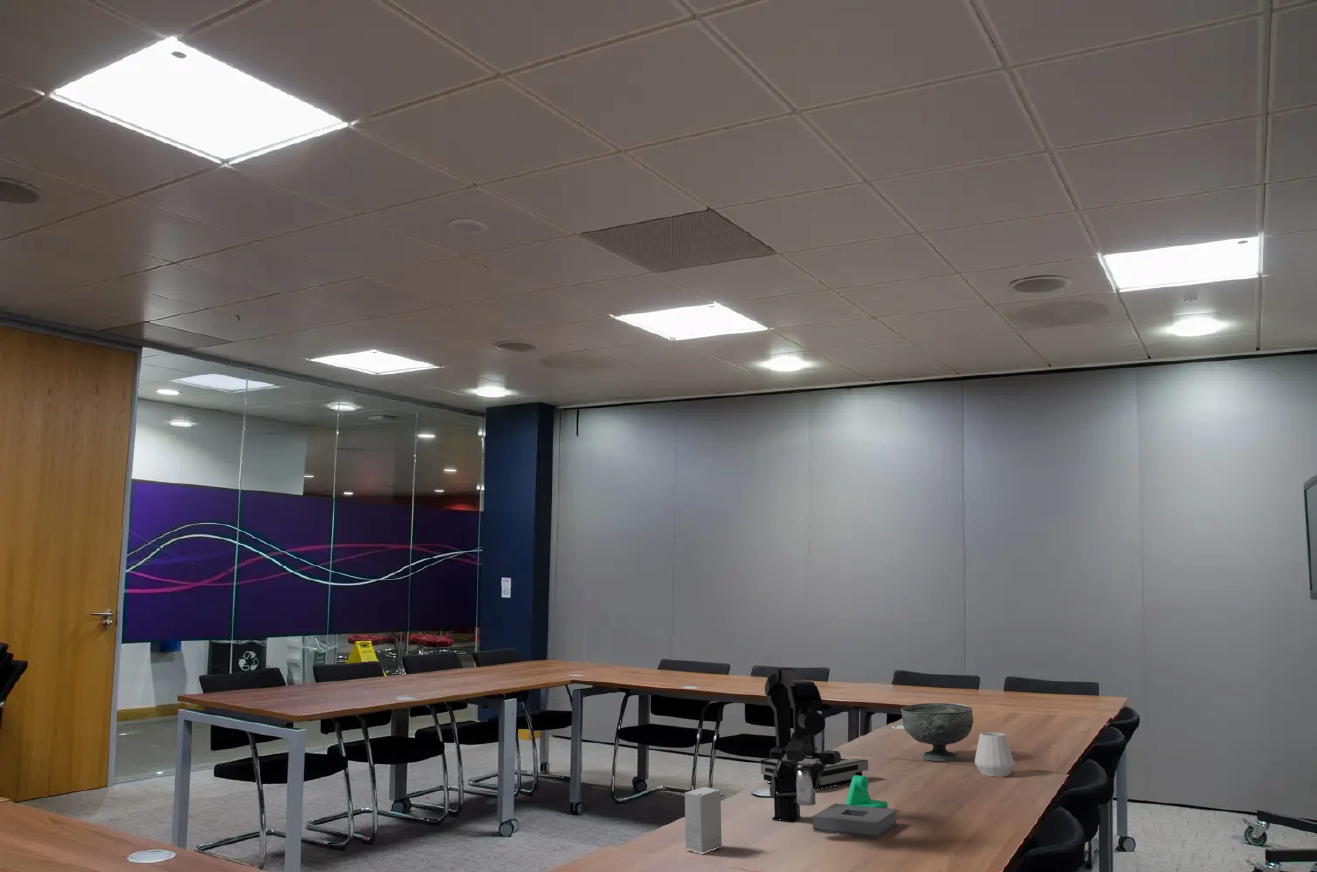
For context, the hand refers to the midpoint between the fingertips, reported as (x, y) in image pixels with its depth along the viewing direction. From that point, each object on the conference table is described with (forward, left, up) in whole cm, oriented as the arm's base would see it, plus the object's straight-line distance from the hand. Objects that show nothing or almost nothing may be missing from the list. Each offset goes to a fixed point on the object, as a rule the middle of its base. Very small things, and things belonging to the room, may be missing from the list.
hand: (805, 787), depth 266 cm
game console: (-25, +71, -13) cm, 77 cm away
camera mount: (+5, +36, -13) cm, 39 cm away
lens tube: (0, 0, -4) cm, 4 cm away
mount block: (+8, +16, -13) cm, 22 cm away
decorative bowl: (+2, +134, -13) cm, 134 cm away
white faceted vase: (+27, +112, -13) cm, 116 cm away
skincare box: (-19, -24, -13) cm, 33 cm away
